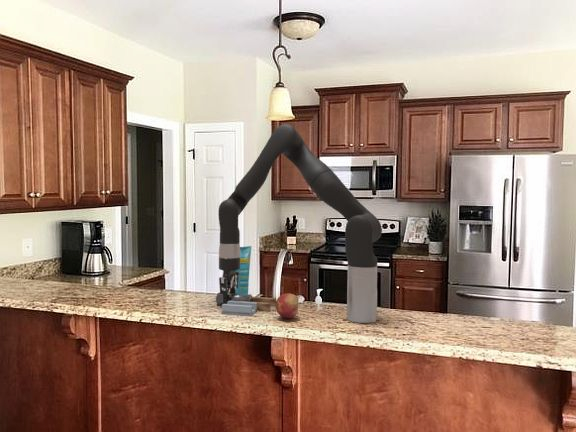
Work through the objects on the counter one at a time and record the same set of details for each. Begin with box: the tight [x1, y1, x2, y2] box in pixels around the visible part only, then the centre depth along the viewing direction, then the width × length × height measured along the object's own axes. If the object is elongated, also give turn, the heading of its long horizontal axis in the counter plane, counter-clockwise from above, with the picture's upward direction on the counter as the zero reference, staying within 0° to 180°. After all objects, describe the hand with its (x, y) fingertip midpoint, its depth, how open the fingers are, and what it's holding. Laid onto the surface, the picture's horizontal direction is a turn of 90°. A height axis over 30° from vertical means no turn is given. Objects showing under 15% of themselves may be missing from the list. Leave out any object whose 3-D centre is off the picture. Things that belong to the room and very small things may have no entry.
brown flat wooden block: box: [241, 296, 277, 312], centre depth 164 cm, size 12×9×2 cm
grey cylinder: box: [215, 291, 253, 306], centre depth 166 cm, size 12×4×4 cm, turn 76°
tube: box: [236, 245, 252, 294], centre depth 183 cm, size 7×5×19 cm, turn 123°
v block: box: [221, 301, 258, 317], centre depth 156 cm, size 10×6×3 cm, turn 77°
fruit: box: [274, 293, 299, 320], centre depth 149 cm, size 8×8×8 cm
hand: (229, 303), depth 166 cm, fingers open, 5 cm apart
